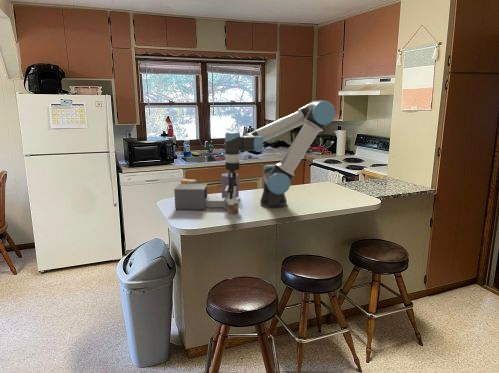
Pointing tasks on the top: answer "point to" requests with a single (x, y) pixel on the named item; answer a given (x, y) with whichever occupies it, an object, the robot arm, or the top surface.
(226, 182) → the container
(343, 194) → the top surface
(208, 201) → the tray
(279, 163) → the robot arm
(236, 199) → the disc
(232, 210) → the walnut block
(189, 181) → the supplement box
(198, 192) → the grey box
